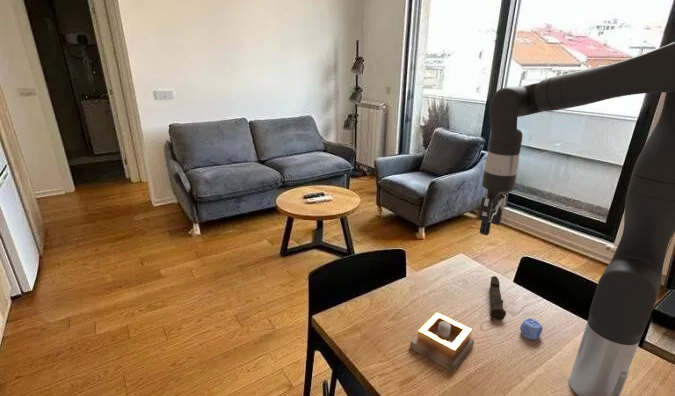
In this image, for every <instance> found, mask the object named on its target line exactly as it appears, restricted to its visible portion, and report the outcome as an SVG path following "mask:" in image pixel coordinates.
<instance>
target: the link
mask: <svg viewBox="0 0 675 396" xmlns="http://www.w3.org/2000/svg"><path fill="white" fill-rule="evenodd" d="M441 321H445V322H448V323H449V324H450V325H451V329H450V333H452V334H454V335H456V336H458V337H457V338H456V339H455V341H454V342H453V343H452V344H451V343H449V342H447V341H446V340H444V339H442V338H440V337H438V336H436V335H434V334H432V332H433V331H434V330H435V329H436V328H437V327H438V326H439V322H441ZM417 335H418V338H417V340H418V341H420V342H422V343H424V344H426V345H427V346H429V347H431V348H433V349H435V350H436V351H438V352H440V353H442V354H444V355H446V356H447V357H449V358H451V359H453V360H454V358H455V357H456V356H457V354H458V353H459V352H460V351H461V349H462V348H463V347H464V346H465V344H466V343H467V342H468V340H469V339H470V338H471V336H472V328H470V327H468V326H466V325H464V324H462V323H460V322H457V321H455V320H453V319H452V318H449V317H448V316H445V315H443V314H441V313H439V312H435V314H434V315H432V317H431V318H430V319H428V320H427V322H425V323H424V325H422V326H421V327H420V328H419V329H418V333H417Z"/></svg>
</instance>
